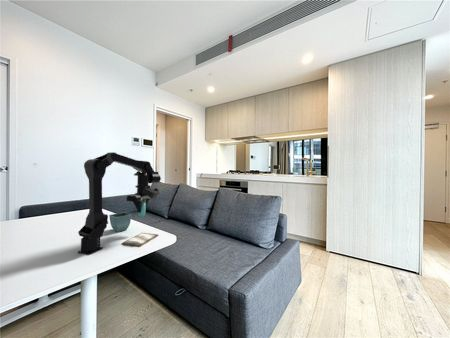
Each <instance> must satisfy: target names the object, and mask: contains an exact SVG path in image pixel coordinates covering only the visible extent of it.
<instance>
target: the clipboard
mask: <svg viewBox="0 0 450 338" xmlns="http://www.w3.org/2000/svg"><path fill="white" fill-rule="evenodd" d="M157 237H159V234H156V233H148V232H141V233H139V234H136V235H134V236H133V237H131V238H129V239H127V240H125V241H122V242H121V245H125V246H133V247H142V246H144V245H145V244H147V243H149V242H150V241H152V240H153V239H155V238H157Z"/></svg>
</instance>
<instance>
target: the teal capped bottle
mask: <svg viewBox="0 0 450 338" xmlns="http://www.w3.org/2000/svg"><path fill="white" fill-rule="evenodd" d="M142 200H144V202H143V203H142V207H141V213H139V212H138V211H137V212H138V213H137V214H138V215H137V217H140V218H141V217H142V218H143V217H146V210H147V207H146V199H142Z"/></svg>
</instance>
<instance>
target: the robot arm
mask: <svg viewBox="0 0 450 338" xmlns="http://www.w3.org/2000/svg"><path fill="white" fill-rule="evenodd" d="M114 163H117V164H120V165H125V166H127V167H131V168H132V169H134V170H135V171H136V173H134V174H133V176H137V184H136V185H135V188H136V192H135V193H134V194H129V195H127V196H126V197H125V198H126V202H133V205H134V206H135V209H136V210H137V212H139V213H141V207H142V203H143V202H144V200H142V199H146V208H147V207H148V205H149V203H150V201H152V200H153V199H154V198H157V196H158V195H159V194H160V189H159V188H158V187H156V188H154V189H153V188H151V185H149V184H158V183H160V182H161V179H162V177H161V175H160V174H159V171H155V170H154V168H153V166H152V165H151V162H150V161H147V160H138V159H134V158H132V157H131V158H130V157H128V156H125V155H122V154H120V153H117V152H107V153H105V154H103V155H101V156H97V157H94V158H92V159H90V158H89V159H87V160H86V161H85V162H84V164H83V168H84V173H85V174H86V177H87V179H88V202H89V203H88V208H89V211H88V214H87V216H86V217H85V222H84V225H83V226H82V228H80V229H79V231H78V232H77V233H78V235H79V236H80V237H82V238H80V249H79V250H78V251H77V253H78V254H85V255H92V254H94V253H96V252H98V251H100V250H102V249H103V246H101V237H103V235H104V232H105V230H106V228H107V226H108V224H109V215H108V214H107V213H104V211H103V178H104V176H105V174H106V171H107V168H108V167H110V166H111V165H112V164H114Z"/></svg>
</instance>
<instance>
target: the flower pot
mask: <svg viewBox="0 0 450 338" xmlns="http://www.w3.org/2000/svg"><path fill="white" fill-rule="evenodd" d="M108 218H109V223H110V227H111V228H112V229H113V230H114V232H118V233H119V232H123V231H127V229H129V227H130V224H131V219H132V214H131V213H128V212H125V211H124V212H118V213H112V214H109V215H108Z"/></svg>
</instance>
